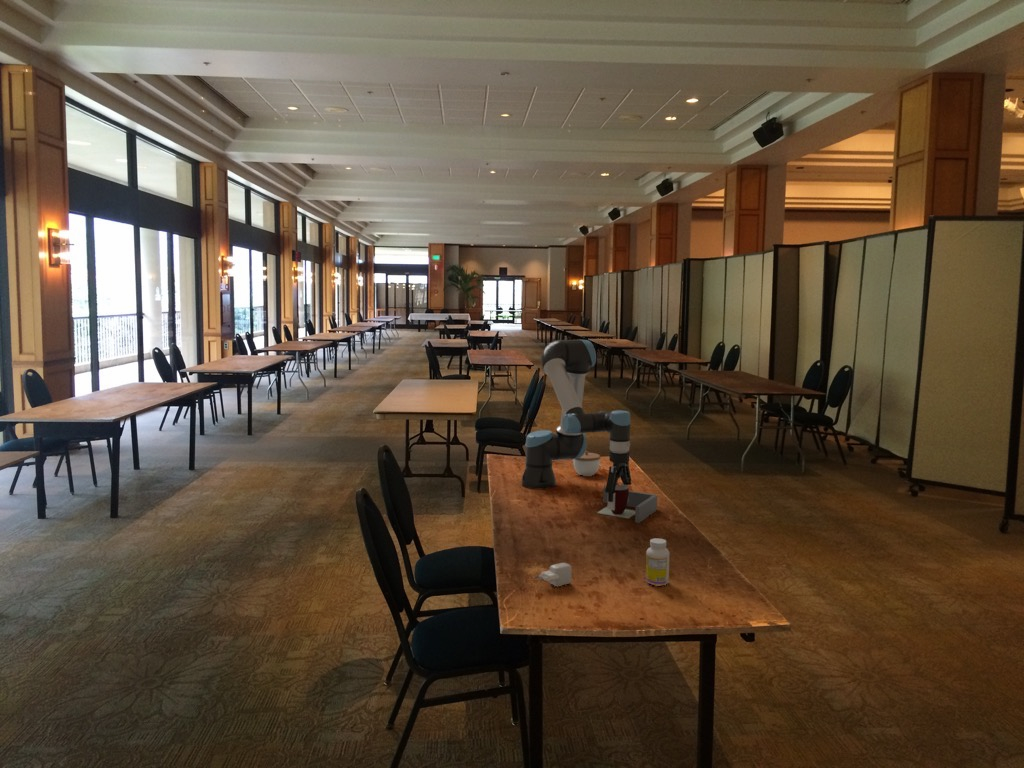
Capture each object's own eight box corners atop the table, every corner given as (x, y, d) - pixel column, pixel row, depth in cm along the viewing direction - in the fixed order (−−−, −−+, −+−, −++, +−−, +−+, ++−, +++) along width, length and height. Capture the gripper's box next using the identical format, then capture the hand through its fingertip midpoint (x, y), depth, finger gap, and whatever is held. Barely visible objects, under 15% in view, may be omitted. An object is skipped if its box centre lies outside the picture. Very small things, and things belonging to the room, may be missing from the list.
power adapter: (541, 593, 215) (541, 573, 214) (532, 587, 219) (532, 567, 218) (573, 585, 220) (573, 565, 220) (563, 579, 224) (563, 560, 224)
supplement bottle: (652, 577, 227) (653, 535, 225) (672, 582, 223) (674, 540, 221) (641, 583, 222) (642, 541, 220) (661, 589, 218) (663, 546, 216)
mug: (605, 507, 297) (605, 483, 296) (626, 508, 297) (626, 483, 296) (608, 516, 287) (608, 490, 286) (629, 516, 287) (630, 490, 286)
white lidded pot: (566, 474, 353) (567, 450, 351) (585, 469, 361) (585, 447, 360) (587, 479, 344) (587, 455, 342) (605, 474, 352) (606, 451, 351)
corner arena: (583, 513, 290) (584, 498, 290) (604, 501, 307) (605, 487, 307) (638, 523, 279) (639, 507, 278) (657, 509, 296) (657, 494, 296)
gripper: (616, 458, 277) (614, 515, 280) (640, 446, 298) (638, 499, 301) (597, 456, 281) (595, 511, 283) (622, 444, 302) (621, 496, 305)
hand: (618, 505), depth 292 cm, fingers open, 13 cm apart
